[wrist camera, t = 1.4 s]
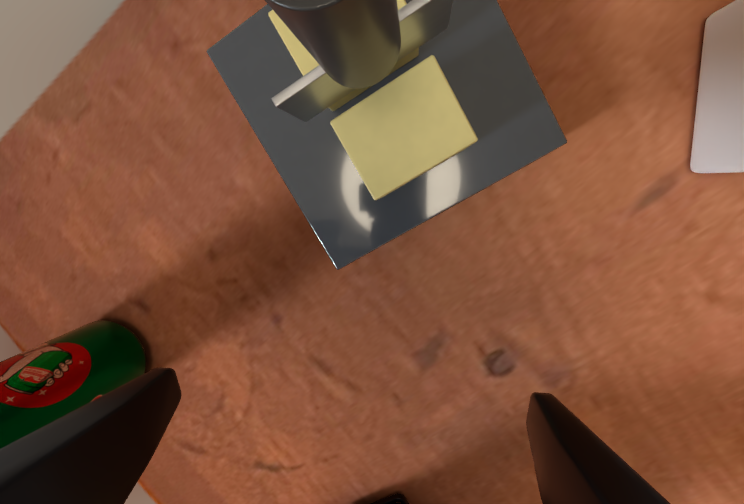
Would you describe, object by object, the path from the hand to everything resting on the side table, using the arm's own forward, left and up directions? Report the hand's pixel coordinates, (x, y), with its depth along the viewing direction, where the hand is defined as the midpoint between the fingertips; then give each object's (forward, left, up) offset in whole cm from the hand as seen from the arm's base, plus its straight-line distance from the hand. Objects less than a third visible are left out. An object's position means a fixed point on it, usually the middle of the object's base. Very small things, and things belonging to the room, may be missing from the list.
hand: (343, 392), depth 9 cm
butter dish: (+8, -4, -12) cm, 15 cm away
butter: (+8, -4, -9) cm, 13 cm away
